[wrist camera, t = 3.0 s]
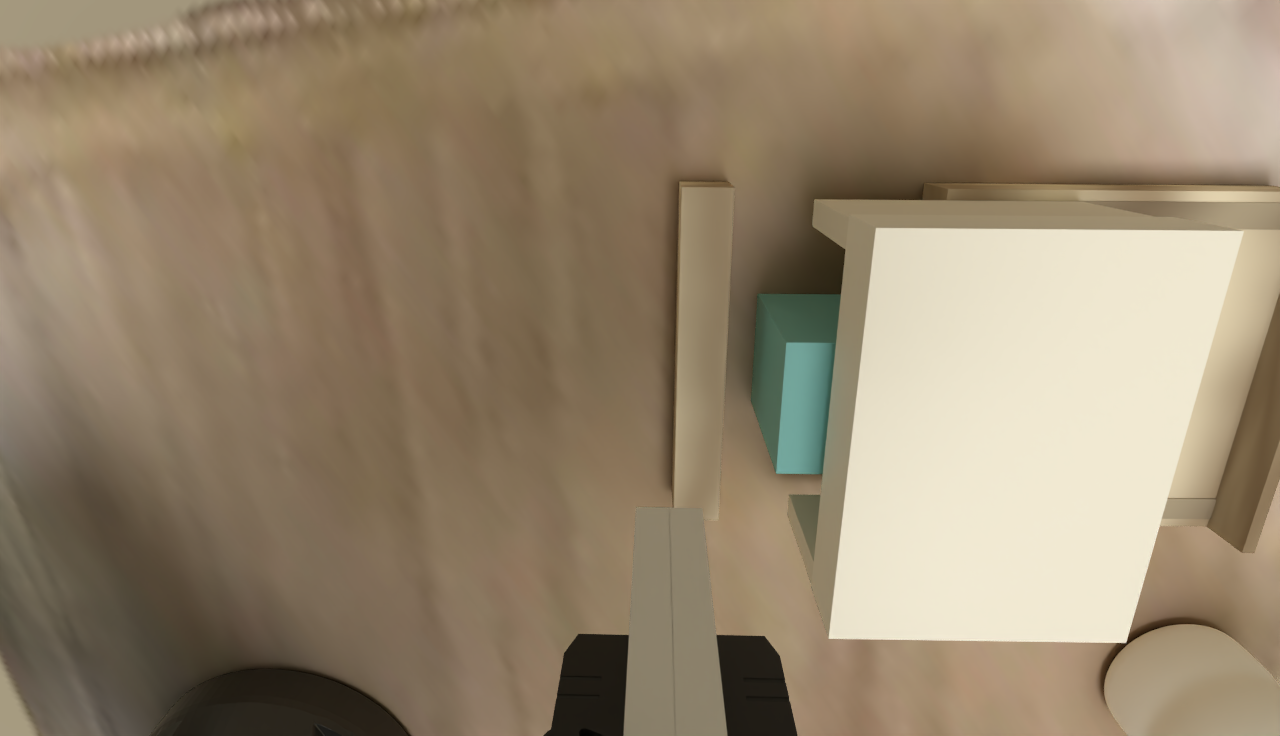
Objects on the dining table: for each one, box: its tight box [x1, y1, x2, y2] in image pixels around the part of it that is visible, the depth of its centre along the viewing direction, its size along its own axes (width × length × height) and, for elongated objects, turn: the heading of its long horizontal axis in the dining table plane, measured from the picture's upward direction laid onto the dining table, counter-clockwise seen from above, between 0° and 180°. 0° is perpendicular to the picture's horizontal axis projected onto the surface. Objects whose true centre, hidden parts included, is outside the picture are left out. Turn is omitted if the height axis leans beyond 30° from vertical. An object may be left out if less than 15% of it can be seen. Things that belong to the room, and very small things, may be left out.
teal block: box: [751, 294, 841, 474], centre depth 29 cm, size 5×5×7 cm
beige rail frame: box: [672, 181, 1280, 553], centre depth 30 cm, size 24×14×4 cm, turn 90°
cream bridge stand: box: [787, 199, 1244, 643], centre depth 26 cm, size 10×14×8 cm
